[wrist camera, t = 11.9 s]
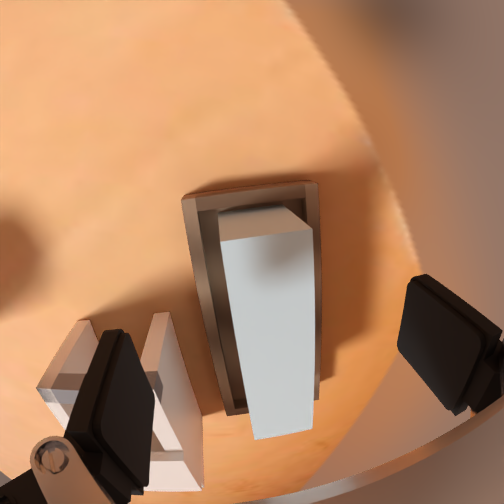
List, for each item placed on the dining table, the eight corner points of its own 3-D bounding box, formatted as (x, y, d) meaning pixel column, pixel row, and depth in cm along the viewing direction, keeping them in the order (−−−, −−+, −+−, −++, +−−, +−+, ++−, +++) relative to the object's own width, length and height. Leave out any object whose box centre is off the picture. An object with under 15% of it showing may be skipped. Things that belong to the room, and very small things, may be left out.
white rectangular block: (217, 212, 18) (220, 241, 13) (282, 204, 19) (312, 228, 13) (244, 383, 23) (254, 440, 17) (292, 374, 23) (312, 428, 18)
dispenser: (77, 320, 20) (31, 396, 12) (169, 311, 21) (151, 400, 13) (125, 420, 24) (111, 492, 16) (202, 416, 25) (204, 495, 17)
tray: (184, 195, 18) (180, 200, 17) (308, 179, 19) (317, 183, 17) (225, 400, 24) (226, 416, 23) (312, 385, 25) (318, 399, 23)
